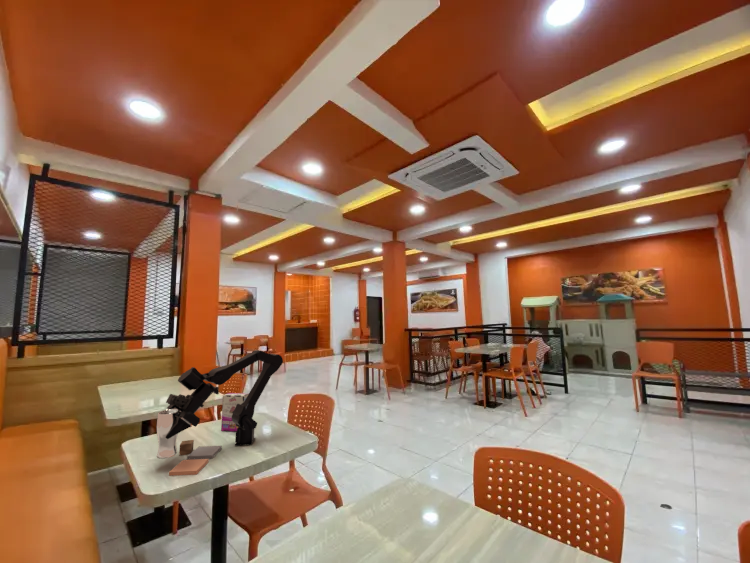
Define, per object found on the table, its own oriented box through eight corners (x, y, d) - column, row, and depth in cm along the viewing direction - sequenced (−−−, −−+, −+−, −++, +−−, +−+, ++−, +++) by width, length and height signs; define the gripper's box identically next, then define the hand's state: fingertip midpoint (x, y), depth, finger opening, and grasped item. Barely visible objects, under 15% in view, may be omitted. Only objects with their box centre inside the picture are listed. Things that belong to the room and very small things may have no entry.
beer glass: (150, 457, 111) (152, 413, 112) (169, 449, 117) (171, 407, 119) (164, 460, 108) (166, 415, 110) (183, 452, 115) (184, 409, 116)
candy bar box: (248, 428, 150) (249, 393, 152) (242, 432, 146) (243, 395, 147) (227, 427, 152) (228, 392, 154) (220, 431, 147) (222, 394, 149)
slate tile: (221, 448, 128) (221, 445, 128) (212, 458, 119) (212, 455, 119) (198, 449, 127) (198, 446, 127) (187, 459, 118) (187, 456, 118)
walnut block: (193, 450, 127) (193, 439, 127) (190, 454, 123) (191, 443, 124) (181, 451, 126) (182, 441, 126) (179, 455, 122) (179, 444, 122)
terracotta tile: (208, 462, 116) (208, 458, 116) (196, 474, 107) (196, 470, 107) (182, 463, 115) (183, 459, 115) (168, 475, 106) (169, 471, 106)
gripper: (174, 381, 124) (138, 417, 115) (191, 388, 112) (152, 429, 103) (195, 398, 129) (162, 434, 120) (213, 406, 117) (178, 447, 108)
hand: (163, 435), depth 113 cm, fingers closed on beer glass, 6 cm apart
